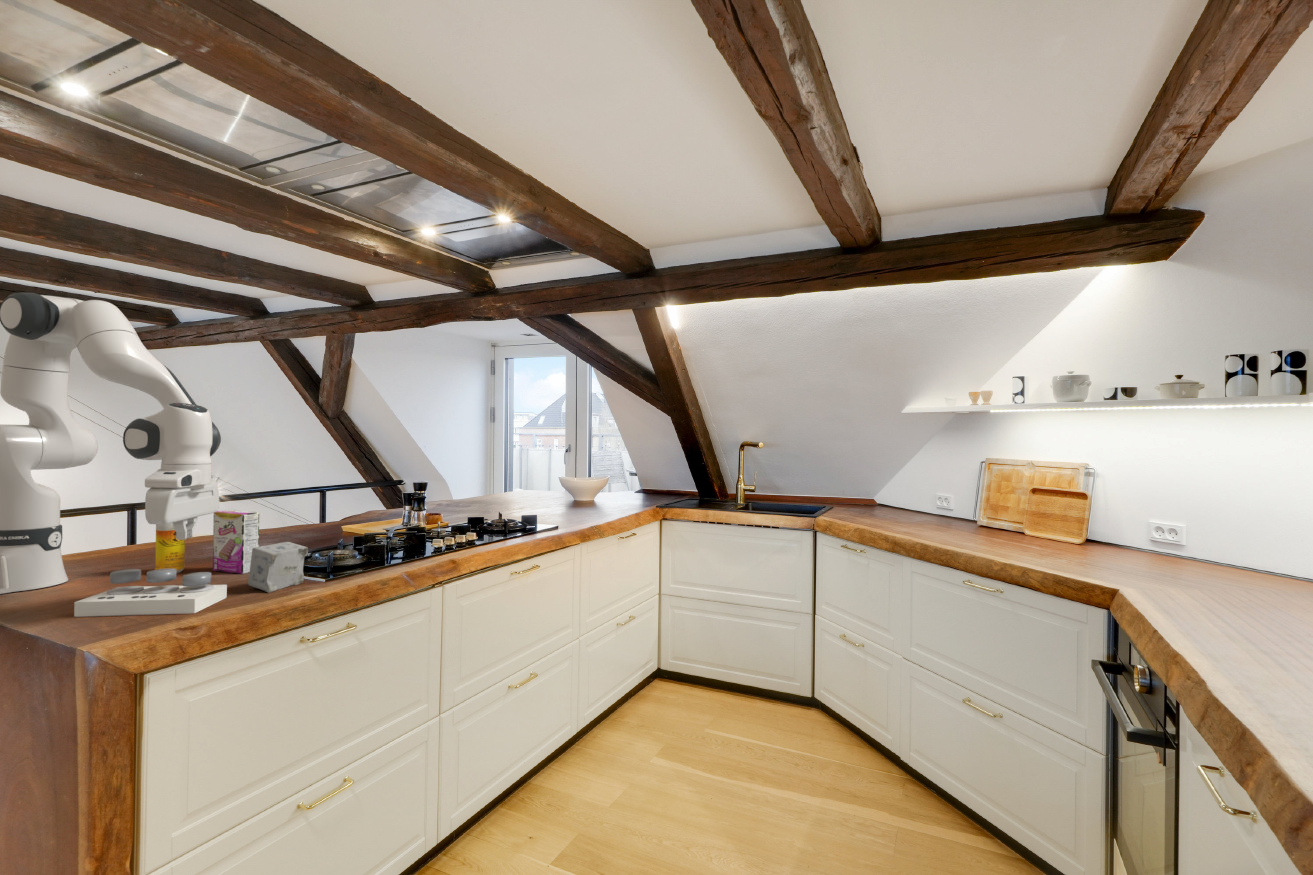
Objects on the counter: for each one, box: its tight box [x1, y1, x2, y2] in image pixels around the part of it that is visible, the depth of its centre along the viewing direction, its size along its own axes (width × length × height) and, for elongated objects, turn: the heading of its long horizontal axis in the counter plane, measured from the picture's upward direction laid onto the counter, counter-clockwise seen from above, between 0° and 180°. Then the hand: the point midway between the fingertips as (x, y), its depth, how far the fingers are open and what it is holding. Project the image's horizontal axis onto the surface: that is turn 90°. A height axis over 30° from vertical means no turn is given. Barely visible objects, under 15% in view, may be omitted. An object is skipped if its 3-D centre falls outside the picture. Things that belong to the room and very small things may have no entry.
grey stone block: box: [247, 541, 309, 594], centre depth 145 cm, size 10×8×10 cm
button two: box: [109, 568, 142, 585], centre depth 128 cm, size 5×5×2 cm
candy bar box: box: [212, 509, 260, 575], centre depth 160 cm, size 11×5×16 cm, turn 73°
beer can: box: [154, 523, 186, 574], centre depth 158 cm, size 6×6×15 cm
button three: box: [146, 568, 177, 584], centre depth 129 cm, size 5×5×2 cm
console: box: [73, 583, 228, 618], centre depth 127 cm, size 22×12×3 cm, turn 99°
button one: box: [182, 571, 212, 587], centre depth 130 cm, size 5×5×2 cm
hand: (184, 538), depth 130 cm, fingers closed
